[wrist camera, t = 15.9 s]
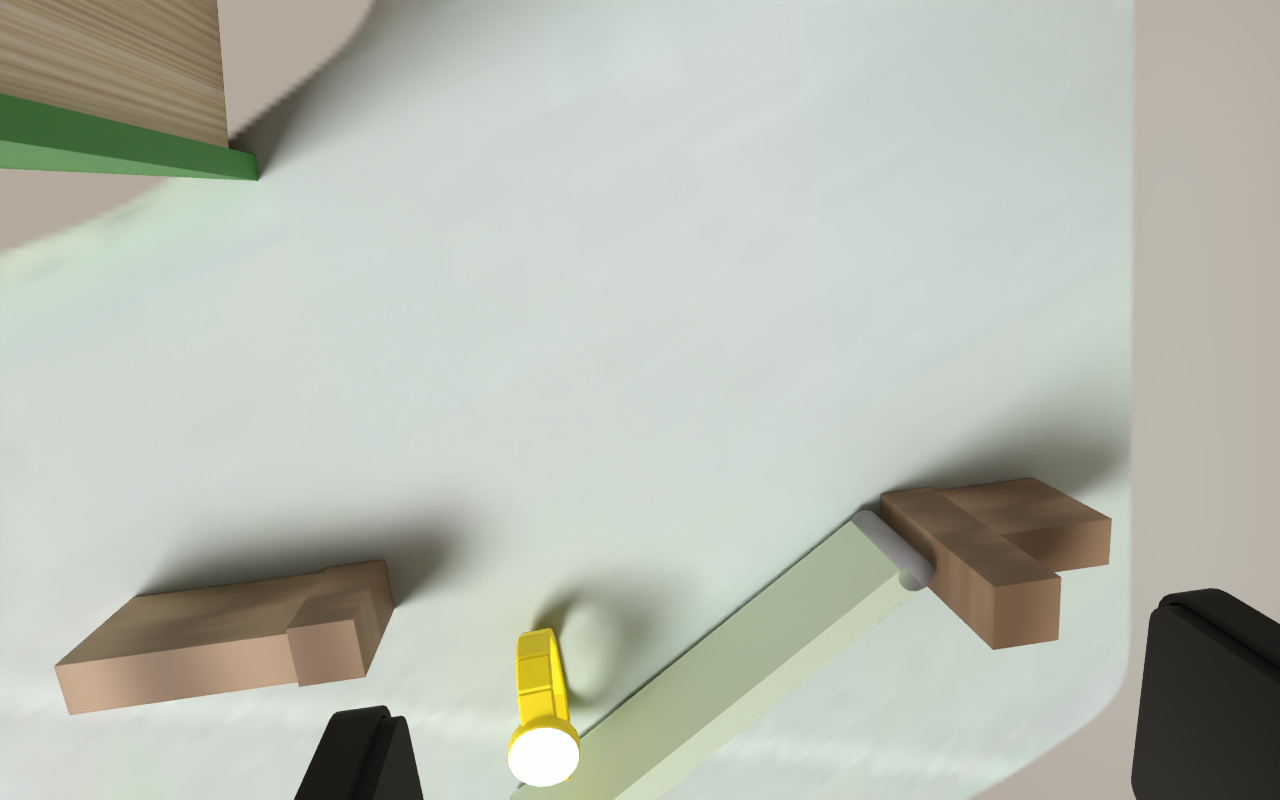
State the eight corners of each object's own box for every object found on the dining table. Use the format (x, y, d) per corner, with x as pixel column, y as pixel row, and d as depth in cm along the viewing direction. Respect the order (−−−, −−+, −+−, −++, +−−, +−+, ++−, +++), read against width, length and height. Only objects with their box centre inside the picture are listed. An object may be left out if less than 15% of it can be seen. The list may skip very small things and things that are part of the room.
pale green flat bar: (867, 503, 33) (920, 551, 28) (897, 541, 34) (954, 594, 29) (508, 794, 34) (500, 887, 30) (544, 825, 35) (542, 921, 30)
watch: (585, 709, 35) (593, 813, 29) (527, 721, 35) (523, 828, 29) (564, 601, 33) (567, 691, 27) (502, 613, 33) (493, 705, 27)
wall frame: (1033, 473, 34) (1196, 557, 25) (1031, 521, 35) (1190, 619, 26) (131, 593, 31) (-37, 737, 22) (146, 643, 31) (-13, 804, 23)
